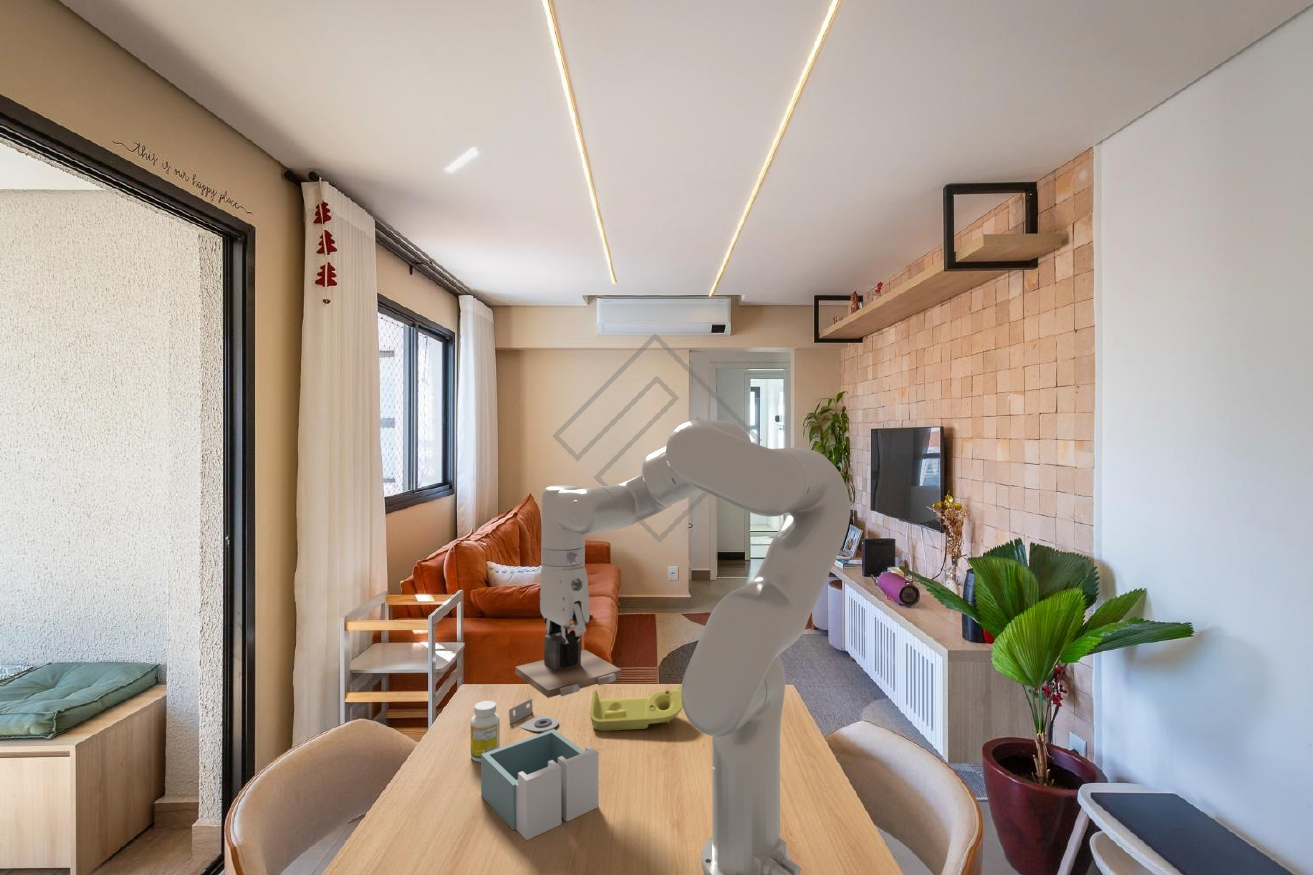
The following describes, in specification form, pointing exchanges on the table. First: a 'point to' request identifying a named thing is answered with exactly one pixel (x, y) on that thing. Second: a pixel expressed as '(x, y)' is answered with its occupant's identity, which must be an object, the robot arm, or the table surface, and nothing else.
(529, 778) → the cabinet
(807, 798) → the table surface
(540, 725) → the bracket
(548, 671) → the door
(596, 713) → the plastic component
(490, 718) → the supplement bottle
